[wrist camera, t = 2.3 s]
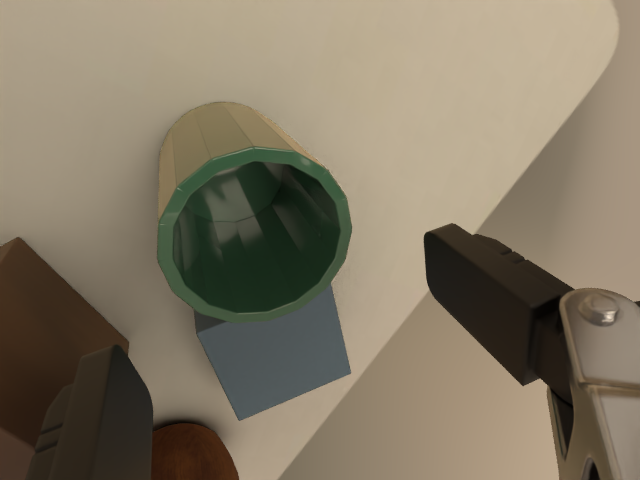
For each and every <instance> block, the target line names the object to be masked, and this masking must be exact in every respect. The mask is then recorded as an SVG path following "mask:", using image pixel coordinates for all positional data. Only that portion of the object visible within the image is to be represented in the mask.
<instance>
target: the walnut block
mask: <svg viewBox="0 0 640 480" xmlns="http://www.w3.org/2000/svg"><path fill="white" fill-rule="evenodd" d="M115 344H118V345H120V346H121V347H122V348H123V350H124V351H125V353H126V354H127V356H128V349H129V342H128V341H127V340H126V339H125V338H124V337H123V336H122V335H121V334H119V333H118V332H117V331H116V330H115V329H114V328H113V327H112V326H111V325H110V324H109V323H108V322H107V321H106V320H105V319H104V318H103V317H102V316H101V315H100V314H99V313H98V312H97V311H96V310H94V309H93V308H92V307H91V306H90V305H89V304H88V303H87V302H86V301H85V300H84V299H83V298H82V297H81V296H80V295H79V294H78V293H77V292H76V291H75V290H74V289H73V288H72V287H70V286H69V285H68V284H67V283H66V282H65V281H64V280H63V279H62V278H61V277H60V276H59V275H58V274H57V273H56V272H55V271H54V270H53V269H52V268H51V267H50V266H49V265H48V264H47V263H45V262H44V261H43V260H42V259H41V258H40V257H39V256H38V255H37V254H36V253H35V252H34V251H33V250H32V249H31V248H30V247H29V246H28V245H27V244H26V243H25V242H24V241H23V240H22V239H20V238H16V239H14V240H12V241H10V242H8V243H6V244H4V245H2V246H1V247H0V480H25V478H26V475H27V472H28V469H29V466H30V462H31V459H32V456H33V455H35V451H34V450H35V447H36V443H37V440H38V437H39V436H40V435H41V432H40V431H41V428H42V424H43V421H44V418H45V415H46V412H47V409H48V408H49V406H50V405H51V403H52V402H53V401H54V399H55V398H56V396H57V395H58V394H59V392H60V391H61V389H62V388H63V387H65V386H67V385H70V384H73V383H74V379H75V375H76V372H77V368H78V364H79V361H80V359H81V357H82V356H84V355H87V354H90V353H93V352H96V351H98V350H101V349H104V348H107V347H109V346H112V345H115Z"/></svg>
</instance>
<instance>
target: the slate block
mask: <svg viewBox="0 0 640 480" xmlns="http://www.w3.org/2000/svg"><path fill="white" fill-rule="evenodd" d="M194 317H195V326H196V334H197V336H198V338H199V340H200V342H201V344H202V346H203V348H204V350H205V352H206V355H207V357H208V359H209V361H210V363H211V365H212V367H213V369H214V371H215V373H216V375H217V377H218V379H219V381H220V383H221V385H222V387H223V389H224V391H225V394H226V396H227V398H228V400H229V402H230V404H231V406H232V408H233V410H234V412H235V414H236V416H237V418H238V420H239V421H240V420H243V419H245V418H247V417H250V416H252V415H255V414H257V413H259V412H262V411H264V410H266V409H269V408H271V407H273V406H276V405H278V404H280V403H283V402H285V401H287V400H290V399H292V398H295V397H297V396H299V395H302V394H304V393H306V392H309V391H311V390H313V389H316V388H318V387H320V386H323V385H325V384H327V383H330V382H332V381H335V380H337V379H339V378H342V377H344V376H346V375H349V374H351V370H350V366H349V361H348V357H347V352H346V348H345V343H344V339H343V335H342V330H341V326H340V321H339V317H338V312H337V308H336V304H335V299H334V295H333V290H332V286H331V283H330V284H329V286H328V287H327V288H326V289H325V290H324V291H323V292H321V293H320V294H319V295H318V296H316V297H315V298H314V299H312V300H311V301H310V302H309V303H307V304H306V305H305V306H304V307H302V308H300V309H299V310H296V311H294V312H291V313H289V314H286V315H283V316H281V317H278V318H276V319H273V320H270V321H265V322H248V323H231V322H227V321H224V320H220V319H217V318H213V317H210V316H206V315H203V314H201V313H199V312H197V311H196V310H195V309H194Z"/></svg>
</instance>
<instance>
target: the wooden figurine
mask: <svg viewBox="0 0 640 480" xmlns="http://www.w3.org/2000/svg"><path fill="white" fill-rule="evenodd" d="M151 480H239V476H238V472H237V470H236V467H235V465H234V462H233V460H232V457H231V456H230V454H229V452H228V450H227V449H226V447H225V445H224V444H223V442H222V441H221V439H220V438H219V437H218V436H217V434H216V433H215V432H214V431H212V430H210V429H208V428H206V427H203V426H200V425H195V424H191V423H179V424H174V425H169V426H166V427H163V428H161V429H159V430H156V431H154V432H152V459H151Z"/></svg>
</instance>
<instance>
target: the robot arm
mask: <svg viewBox="0 0 640 480" xmlns="http://www.w3.org/2000/svg"><path fill="white" fill-rule="evenodd" d="M424 251H425V264H426V278H427V283H428V286H429V289H430V291H431V293H432V295H433V296H434V298H435V299H436V300H437V301H438V302H439V303H440V304H441V305H442V306H443V307H444V308H445V309H446V310H447V311H448V312H449V313H450V314H451V315H452V316H453V317H454V318H455V319H456V320H457V321H458V322H459V323H460V324H461V325H462V326H463V327H464V328H465V329H466V330H467V331H468V332H469V333H470V334H471V335H472V336H473V337H474V338H475V339H476V340H477V341H478V342H479V343H480V344H481V345H482V346H483V347H484V348H485V349H486V350H487V351H488V352H489V353H490V354H491V355H492V356H493V357H494V358H495V359H496V360H497V361H498V362H499V363H500V364H502V366H503V367H504V368H505V369H506V370H507V371H508V372H509V373H510V374H511V375H512V376H513V377H514V378H515V379H516V380H517V381H518V382H519V383H520V384H521V385H522V386H524V385H526V384H529V383H531V382H533V381H535V380H537V379H539V378H541V379H542V380H543V381H544V382H545V383H546V384H547V385H548V387H547V399H548V406H549V412H550V417H551V425H552V430H553V437H554V444H555V450H556V456H557V463H558V469H559V480H640V301H637V302H633V301H632V300H630V299H628V298H627V297H625V296H623V295H620V294H618V293H615V292H612V291H608V290H603V289H598V288H597V289H596V288H582V289H576V290H575V289H573V288H572V287H570V286H568V285H567V284H565V283H564V282H562V281H561V280H559V279H558V278H556V277H554V276H553V275H551V274H550V273H548V272H546V271H545V270H543V269H542V268H540V267H539V266H537V265H535V264H534V263H532V262H530V261H529V260H525V259H524V257H523V256H521V255H520V254H518V253H516V252H512V250H511V249H510V248H508V247H507V246H505V245H504V244H502V243H500V242H499V241H497V240H495V239H492V238H489V237H485V236H482V235H479V234H474V235H471V234H470V233H468V232H467V231H465V230H464V229H462V228H461V227H459V226H458V225H456V224H453V223H451V224H448V225H445V226H442V227H440V228H437V229H434V230H431V231H429V232H426V233H425V235H424ZM152 430H153V405H152V400H151V397H150V393H149V391H148V389H147V387H146V385H145V383H144V382H143V380H142V378H141V377H140V375H139V374H138V372H137V370H136V369H135V367H134V366H133V364H132V362H131V361H130V359H129V358H128V356H127V354H126V353H125V351H124V350H123V348H122V347H121V346H120V345H118V344H115V345H112V346H109V347H107V348H104V349H101V350H98V351H96V352H93V353H90V354H87V355H84V356H82V357H81V359H80V361H79V364H78V368H77V372H76V375H75V379H74V383H73V384H70V385H67V386H65V387H63V388H62V389H61V391H60V392H59V394H58V395H57V396H56V398H55V399H54V401H53V402H52V403H51V405H50V406H49V408H48V409H47V412H46V415H45V418H44V421H43V424H42V428H41V431H40V432H41V435H40V436H39V437H38V440H37V443H36V447H35V450H34V451H35V455H33V456H32V459H31V462H30V466H29V469H28V472H27V475H26V478H25V480H151V459H152Z"/></svg>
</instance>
